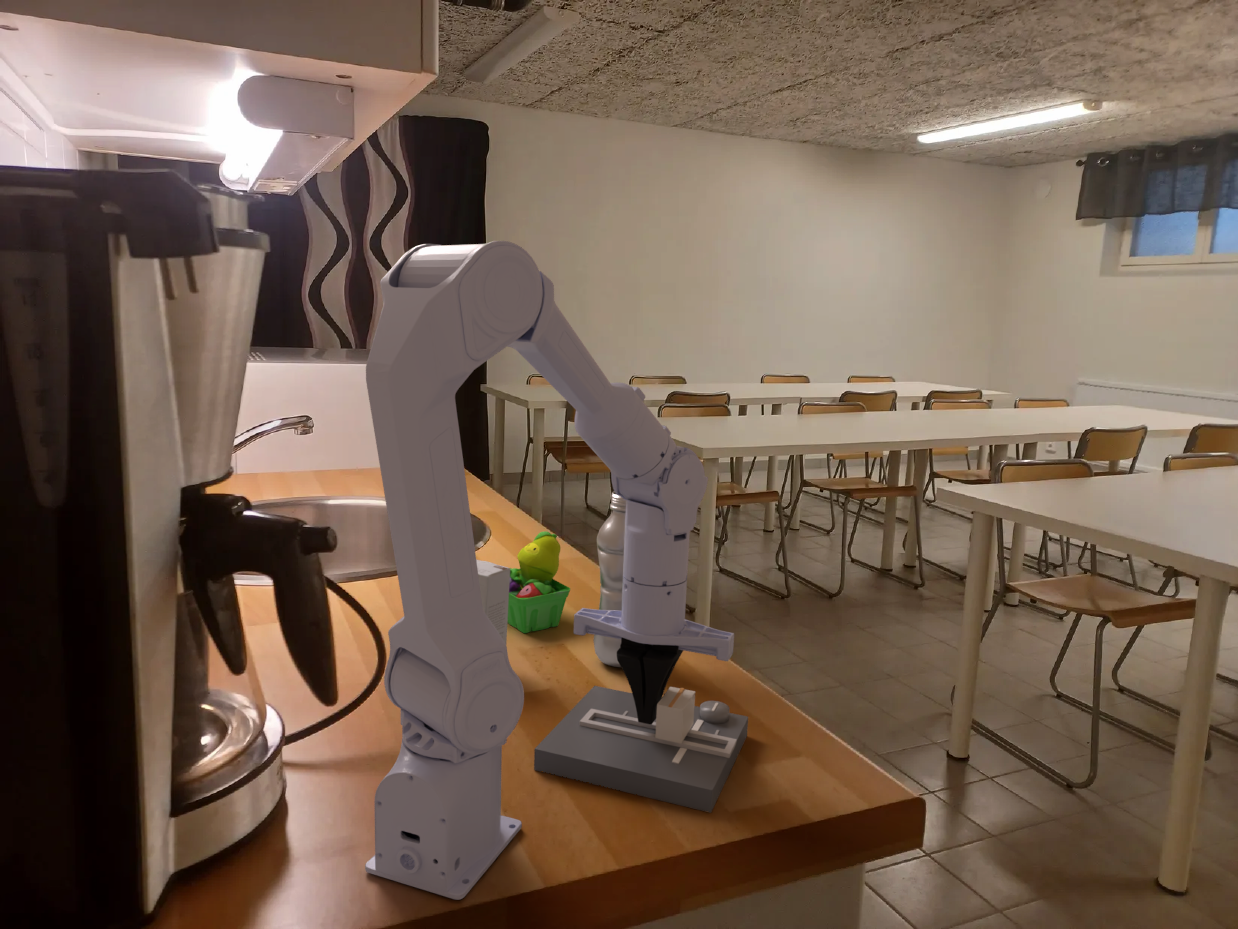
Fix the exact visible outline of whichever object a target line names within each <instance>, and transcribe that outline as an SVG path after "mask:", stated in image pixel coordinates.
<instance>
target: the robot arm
mask: <svg viewBox="0 0 1238 929" xmlns="http://www.w3.org/2000/svg"><path fill="white" fill-rule="evenodd" d="M379 286H380V292H381V297H382V298H381V299H382V305H383V306H382V308H381V312H380V315H379V319H378V322H377V326H376V329H375V332H374V336H373V340H372V344H371V347H370V351H369V354H368V358H367V360H366V365H365V383H366V390H367V395H368V400H369V407H370V412H371V419H372V426H373V432H374V437H375V444H376V450H377V456H378V462H379V469H380V476H381V481H382V487H383V492H384V500H385V505H386V511H387V517H388V519H387V520H388V523H389V529H390V535H391V536H390V537H391V543H392V549H393V555H394V561H395V568H396V573H397V578H398V579H397V580H398V586H399V592H400V598H401V603H402V609H403V611H402V612H403V616H402V617H401V618H400V619H399V620H398V621H396V622H395V624H393V625H392V626H391V627H390V628H389V629H388V632H387V633H388V634H387V635H388V639H389V654H388V659H387V664H386V666H385V670H384V676H383V677H384V678H383V679H384V680H383V684H384V689H385V693H386V695H387V698H388V699H389V700H390V702H391V703H392V704H393V705H394V706H395V707H398V708H399V709H400V725H401V727H402V728H401V729H402V732H401V736H402V738H401V744H400V751H399V754H398V755H397V759H396V761H395V763H394V764H393V765H392V767H391V769H390V770H389V772H387V774H386V775H385V776H384V777H383V779H382V780H381V781H380V782H379V784H378V786H377V788H376V790H375V795H374V855H373V856H372V857H370V859H369V860H367V862H366V863H365V864H364V865H365V866H364V870H365V872H366V873H368V874H371V875H375V876H378V877H381V878H385V879H387V880H391V881H394V882H398V883H400V884H403V885H407V886H410V887H412V888H413V887H414V888H416V889H420V890H423V891H426V892H428V893H429V892H430V893H433V894H436V895H439V896H443V897H445V898H449V899H452V900H456V901H457V900H462V899H463V898H465V897H466V896H467V895H468V893H469V892H470V890H472V888H473V887H474V886H475V885H476V884H477V882H478V881H479V880H480V879H481V877H482V876H483V875H484V874H485V873H486V872H487V870H488V869H489V868H490V867H491V866H492V864H493V863H494V862H495V861H496V860H497V858H498V857H499V856H500V854H501V853H502V852H503V851H504V849H505V848H507V846H508V845H509V844H510V842H511V841H512V840H513V839H514V837H516V835H517V834H518V832H520V830H522V825H523V824H522V821H521V820H519V819H516V818H513V817H510V816H505V815H503V814H502V813H501V812H502V766H503V765H502V764H503V763H502V758H503V757H502V755H503V754H502V751H503V748H502V747H503V746H504V745H506V744H507V741H508V740H507V739H508V738H509V737H510V735H511V734H512V732H513V731H514V730H515V728H516V726H517V725H518V723H519V720H520V718H521V715H522V712H523V709H524V702H525V692H524V691H525V689H524V686H523V683H522V681H521V679H520V677H519V675H518V674H517V673H516V671H515V670H514V669H513V667H512V665H511V663H510V659H509V654H508V647H507V643H506V644H505V642H504V640H503V639H502V637H501V636H500V634H499V633H498V631H497V630H496V628H495V627H494V625H493V624H492V623H491V621H490V620H489V618H488V617H487V615H486V613H485V612H484V610H483V607H482V599H481V592H480V584H479V577H478V569H477V561H476V559H477V556H476V548H475V540H474V533H473V525H472V518H471V511H470V510H471V509H470V503H469V496H468V487H467V480H466V479H467V478H466V472H465V466H464V465H465V464H464V458H463V448H462V442H461V434H460V426H459V419H458V412H457V411H458V410H457V404H456V403H457V402H456V393H457V392H458V390H459V388H461V386H462V385H463V384H464V383H465V381H467V379H468V378H469V376H470V375H471V374H472V373H473V372H474V370H476V369H477V368H479V367H480V366H482V365H483V364H484V363H485V362H487V361H489V360H490V359H491V358H493V357H494V356H496V355H497V354H499V353H500V352H502V351H503V350H504V349H506V348H511V349H514V350H515V351H516V352H517V353H518V354H519V355H521V357H522V358H524V359H525V360H526V361H527V362H528V364H530V366H531V367H532V368H533V369H534V370H535V371H537V373H538V374H539V375H540V376H542V378H544V379H545V380H546V382H547V383H548V384H549V385H550V386H551V387H552V388H553V389H554V390H555V391H556V392H557V393H558V394H559V395H561V397H563V399H564V400H565V401H566V402H568V404H570V406H572V408H573V409H574V410H575V414H574V430H575V431H576V433H577V434H578V436H579V437H580V438H581V439H582V440H583V441H584V442H585V443H586V445H587V446H588V447H589V448H590V450H592V452H594V453H595V454H596V455H597V457H598V458H599V459H600V460H601V462H603V464H604V465H605V466H606V467H607V468H608V469H609V470H610V473H611V474H610V475H611V476H610V477H611V484H612V489H613V491H614V492H615V494H616V495H619V496H621V497H622V498H623V499H625V500H626V515H625V539H624V562H623V587H622V611H618V610H599V609H595V608H594V609H593V608H586V607H581V608H580V609H579V610H578V611H576V613H574V614H573V616H574V617H573V634H574V635H578V636H586V634H590V635H593V636H594V635H599V636H605V637H611V638H616V639H621V644H620V648H619V649H618V651H617V661H618V662H619V664H620V666H621V667H620V668H621V669H622V671H623V673H624V675H625V677H626V680H627V682H628V684H629V687H630V691H631V693H632V694H633V698H634V702H635V706H636V711H637V717H638V722H641V723H645V724H652V723H653V722H654V721H655V719H656V715H657V704H658V703H659V701H660V700H661V698H662V697H663V696H664V694H665V693H664V692H665V690H666V687H667V684H668V681H669V680H670V678H671V675H672V673H673V671H674V669H675V667H676V665H677V663H678V661H679V659H680V657H681V655H682V654H683V652H689V653H690V652H691V653H694V654H695V653H696V654H702V655H706V656H707V655H708V656H712V657H716V660H719V661H724V662H729V660H730V659H731V658H732V655H733V654H734V644H735V642H734V641H735V633H734V632H729V631H724V630H721V629H716V628H713V627H710V626H707V625H704V624H702V623H698V622H695V621H692V620H688V619H686V603H687V602H686V601H687V586H688V585H687V584H688V572H689V570H688V569H689V554H690V552H689V551H690V536H691V535H690V534H691V531H693V530H694V528H695V524H697V517H698V516H697V515H698V509H699V506H700V504H701V502H702V500H703V498H704V496H705V494H706V490H707V489H708V488H707V487H708V481H709V480H708V479H709V477H708V476H706V474H705V467H704V465H703V463H702V461H701V459H700V458H699V457H698V455H697V454H696V452H694V450H692V449H691V448H688V447H683V446H679V445H677V444H676V442H675V440H674V439H673V438H672V436H671V434H672V432H671V431H670V429H669V428H668V427H667V425H663V424H662V423H661V422H660V421H659V420H658V419H657V417H656V416H655V415H654V414H653V412H652V411H651V410H650V408H649V407H648V406H647V405H646V403H645V402H644V400H645V398H646V394H645V393H644V392H643V391H642V389H641V388H640V387H638V386H631V385H629V384H627V383H625V382H620V381H619V382H618V381H617V382H610V381H609V379H608V378H607V376H606V375H605V373H604V372H603V370H602V369H601V368H600V366H599V365H598V363H597V362H596V361H595V360H596V359H594V357H593V356H592V354H591V353H590V352H589V350H588V349H587V347H586V346H585V344H584V343H583V342H582V340H581V338H580V337H579V336H578V334H577V333H576V331H575V330H574V328H573V327H572V326H571V324H570V323H569V320H567V318H566V317H565V316H564V314H563V312H562V311H561V310H560V308H559V307H558V305H557V303H556V301H555V288H554V283H553V281H552V280H551V279H550V278H549V277H548V276H547V275H546V274H544V272H542V271H541V270H539V268H538V265H537V262H535V259H534V258H533V257H532V256H531V254H530V253H529V252H528V251H527V250H526V249H525V248H523V246H520V245H519V244H516V243H514V242H511V241H509V240H508V241H507V240H493V241H490V242H486V243H478V244H477V243H476V244H474V243H473V244H471V243H470V244H469V243H468V244H451V245H450V244H449V245H447V244H446V245H442V244H439V243H438V244H436V243H423V244H419V245H416V246H414V247H412V248H410V249H408V250H407V251H406V252H405V253H404V254H403V255H402V256H401V257H400V258H399V259H398V260H397V262H395V264H394V265H393V266H392V267H391V269H389V270H388V271H387V273H386V274H385V275H384V276H383V277H382V278H381V280H380V282H379ZM501 814H502V815H501Z"/></svg>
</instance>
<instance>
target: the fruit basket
mask: <svg viewBox="0 0 1238 929" xmlns="http://www.w3.org/2000/svg"><path fill="white" fill-rule="evenodd" d="M557 537H558V535H557V534H556V533H551V532H549V531H546V530H545V531H540V532H539V533H538V534H537V535H536V536H535V537H534V539H533V541H532V542H529V543H527V545H525V546H524V547H522V548H521V549H519V550H520V551H519V552H518V554H517V559H518V564H519V568H518V567H514V568H511V567H509V568H510V582H509V601H508V622H507V625H510V626H512V627H513V628H515V629H517V630H518V631H520V632H521V633H523V634H529V633H531V632H537V631H542V630H545V629H549V628H553V627H554V628H555V627H558V626H559V625H560V621H561V617H562V614H563V612H564V611H563V610H564V607H565V604H566V601H567V598H568V596H569V594H570V591H571V587H569V586H567V585H565V584H563V583H562V582H559V581H557V580H556V579H554V577H555V576H556V574H558V570H559V567H560V560H559V559H560V554H561V545H560V542H559V541H558V540H557Z"/></svg>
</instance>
